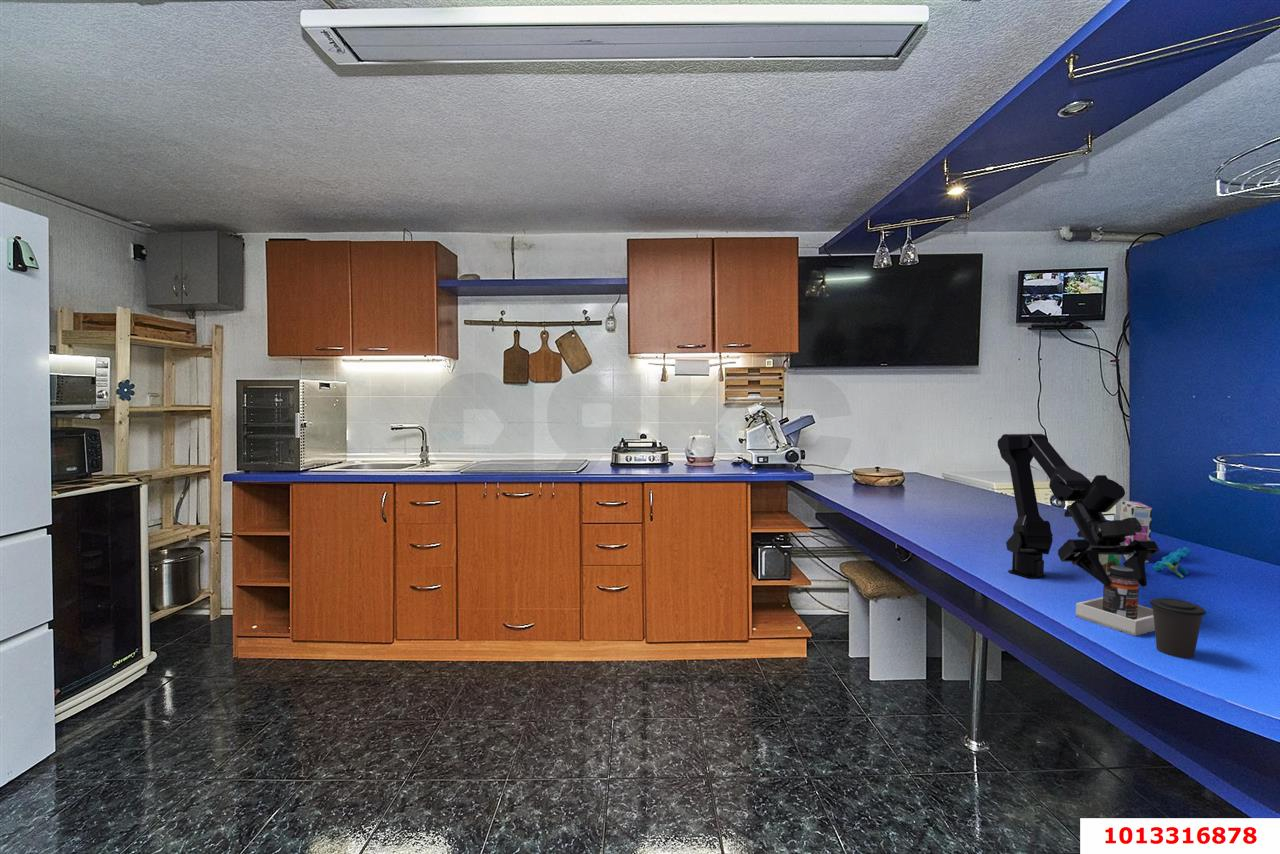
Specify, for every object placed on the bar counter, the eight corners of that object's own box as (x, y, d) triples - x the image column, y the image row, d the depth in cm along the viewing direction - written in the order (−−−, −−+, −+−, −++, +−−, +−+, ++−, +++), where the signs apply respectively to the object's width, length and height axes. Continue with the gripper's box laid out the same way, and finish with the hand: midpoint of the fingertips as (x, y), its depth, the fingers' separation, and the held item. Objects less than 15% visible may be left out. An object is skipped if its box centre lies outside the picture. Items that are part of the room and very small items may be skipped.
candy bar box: (1150, 563, 169) (1153, 507, 168) (1128, 561, 172) (1131, 506, 171) (1137, 553, 180) (1139, 501, 179) (1117, 551, 182) (1119, 499, 181)
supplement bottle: (1130, 626, 123) (1132, 573, 123) (1097, 617, 128) (1098, 566, 128) (1142, 620, 126) (1144, 569, 126) (1109, 611, 131) (1111, 562, 131)
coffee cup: (1138, 641, 118) (1140, 592, 117) (1187, 645, 115) (1190, 596, 115) (1161, 658, 110) (1163, 606, 109) (1214, 664, 108) (1217, 611, 107)
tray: (1075, 616, 130) (1076, 603, 130) (1107, 609, 135) (1107, 595, 134) (1135, 636, 120) (1135, 621, 120) (1167, 627, 124) (1167, 613, 124)
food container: (1135, 580, 155) (1137, 543, 154) (1109, 579, 156) (1110, 542, 155) (1108, 566, 167) (1109, 532, 166) (1083, 565, 168) (1085, 531, 167)
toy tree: (1153, 559, 168) (1187, 540, 161) (1172, 576, 165) (1207, 558, 159) (1146, 572, 161) (1181, 553, 154) (1166, 590, 158) (1203, 572, 152)
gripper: (1068, 504, 130) (1103, 567, 120) (1155, 504, 129) (1197, 568, 119) (1044, 530, 138) (1074, 591, 128) (1125, 530, 138) (1162, 592, 127)
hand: (1126, 585), depth 125 cm, fingers open, 7 cm apart
